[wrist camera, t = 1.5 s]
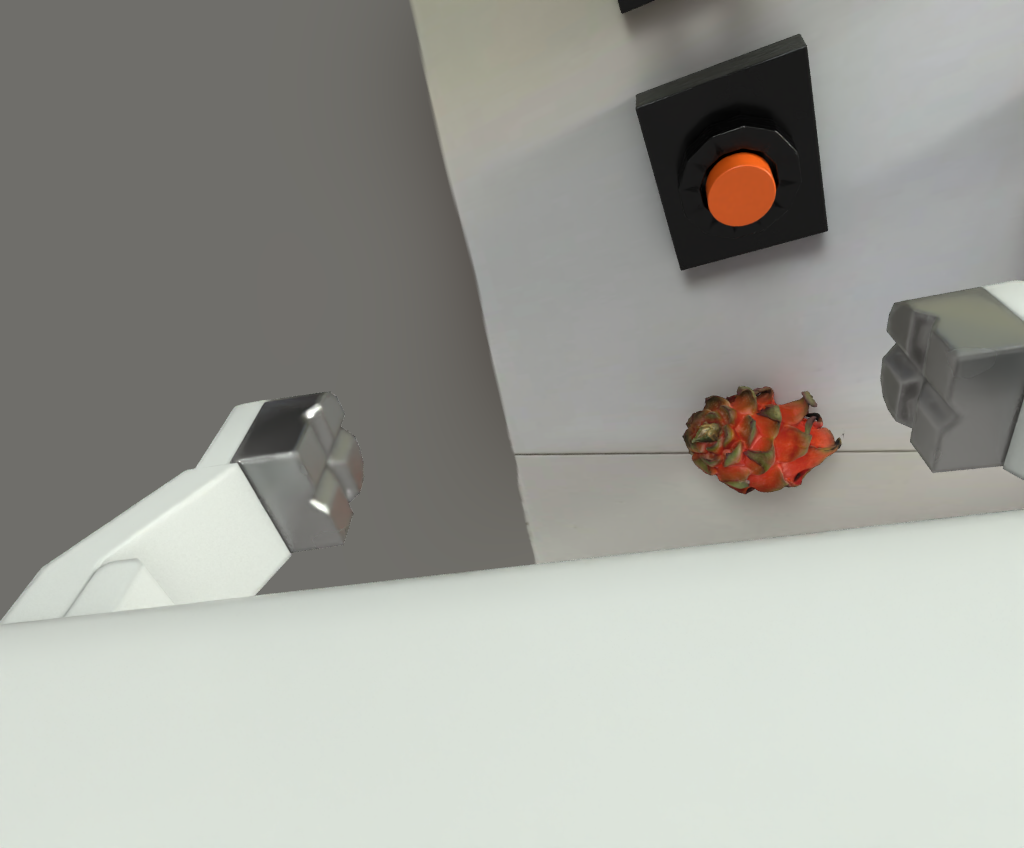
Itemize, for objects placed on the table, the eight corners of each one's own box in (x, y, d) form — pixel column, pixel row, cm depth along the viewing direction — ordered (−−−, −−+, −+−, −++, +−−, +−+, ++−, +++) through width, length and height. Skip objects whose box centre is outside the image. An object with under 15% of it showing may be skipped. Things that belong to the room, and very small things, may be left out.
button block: (635, 94, 39) (634, 120, 36) (800, 33, 36) (813, 55, 33) (679, 253, 46) (682, 286, 43) (821, 214, 43) (834, 246, 40)
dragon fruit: (670, 379, 56) (813, 381, 56) (665, 479, 57) (805, 481, 57) (701, 389, 47) (869, 391, 47) (694, 506, 48) (858, 508, 49)
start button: (699, 164, 38) (701, 177, 37) (766, 142, 37) (770, 155, 35) (712, 220, 40) (714, 234, 39) (776, 201, 39) (780, 215, 38)
